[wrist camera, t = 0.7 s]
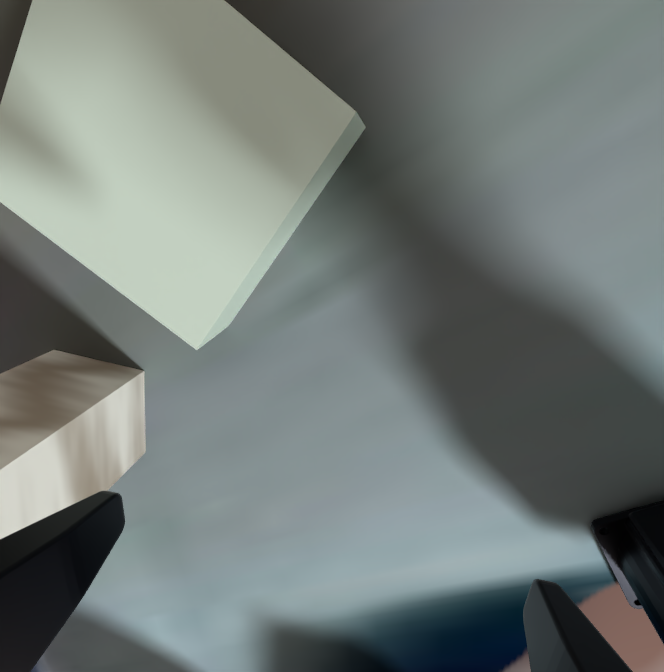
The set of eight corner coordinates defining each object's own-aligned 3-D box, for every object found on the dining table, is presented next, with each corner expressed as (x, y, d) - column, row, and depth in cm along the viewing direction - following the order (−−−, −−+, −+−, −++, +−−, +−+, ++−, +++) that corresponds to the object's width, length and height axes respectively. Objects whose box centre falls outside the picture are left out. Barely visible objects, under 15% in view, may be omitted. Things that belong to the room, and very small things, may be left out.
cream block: (144, 370, 24) (-125, 555, 12) (145, 452, 26) (-81, 678, 14) (53, 349, 24) (-290, 504, 12) (62, 430, 26) (-223, 630, 14)
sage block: (366, 128, 18) (356, 112, 14) (231, 323, 22) (196, 350, 18) (145, -58, 17) (72, -129, 13) (50, 185, 21) (-25, 183, 17)
